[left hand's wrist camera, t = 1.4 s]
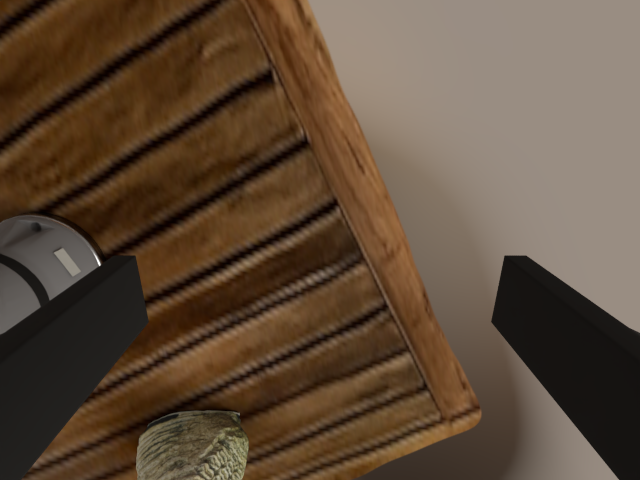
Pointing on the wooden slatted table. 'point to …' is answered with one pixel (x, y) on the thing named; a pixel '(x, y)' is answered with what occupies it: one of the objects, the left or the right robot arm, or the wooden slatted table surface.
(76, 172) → the wooden slatted table surface
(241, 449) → the fossil
